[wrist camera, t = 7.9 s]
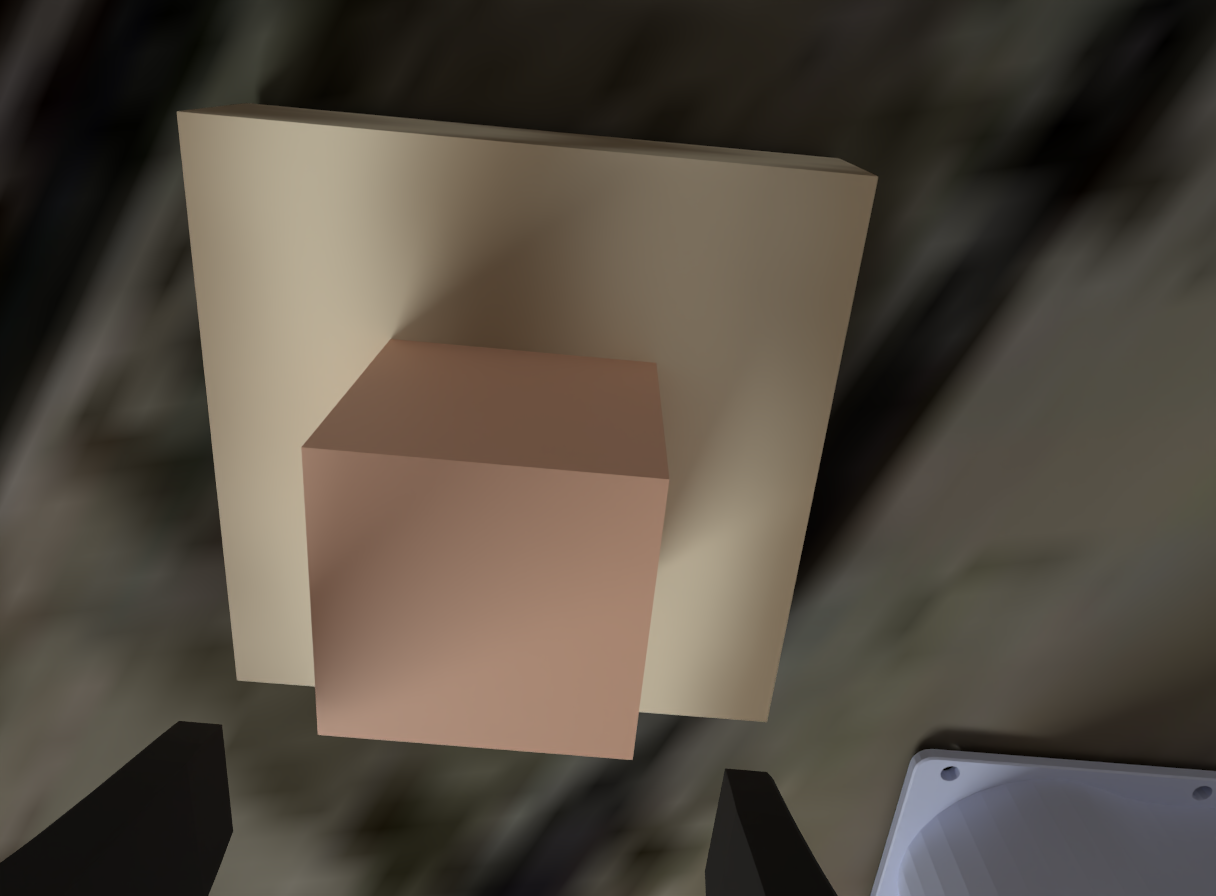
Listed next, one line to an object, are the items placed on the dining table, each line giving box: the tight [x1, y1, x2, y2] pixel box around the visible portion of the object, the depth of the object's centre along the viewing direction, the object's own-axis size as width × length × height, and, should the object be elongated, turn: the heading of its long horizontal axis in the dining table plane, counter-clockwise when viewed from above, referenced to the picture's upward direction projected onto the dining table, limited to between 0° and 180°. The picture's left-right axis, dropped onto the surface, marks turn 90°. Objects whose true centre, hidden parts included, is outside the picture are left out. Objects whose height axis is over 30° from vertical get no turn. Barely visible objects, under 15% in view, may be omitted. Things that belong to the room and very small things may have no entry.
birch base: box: [177, 103, 878, 722], centre depth 19 cm, size 12×12×3 cm
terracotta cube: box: [301, 339, 669, 760], centre depth 15 cm, size 5×5×5 cm
